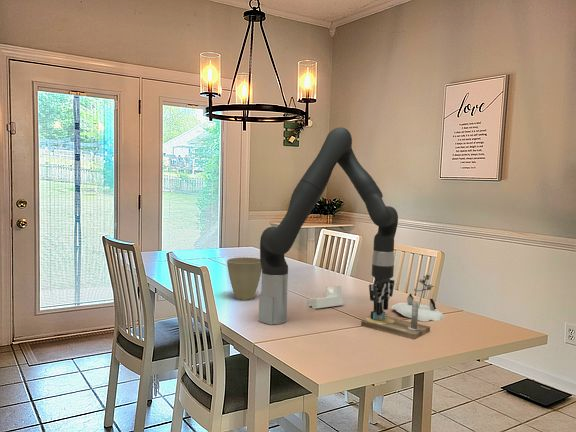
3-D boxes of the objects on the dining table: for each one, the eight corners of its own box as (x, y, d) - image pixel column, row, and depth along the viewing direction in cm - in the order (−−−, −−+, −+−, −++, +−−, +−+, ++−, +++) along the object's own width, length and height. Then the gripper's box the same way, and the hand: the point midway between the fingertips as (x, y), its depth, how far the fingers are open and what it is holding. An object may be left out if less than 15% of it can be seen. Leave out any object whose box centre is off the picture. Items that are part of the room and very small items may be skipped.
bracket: (333, 305, 206) (331, 286, 207) (343, 304, 200) (341, 285, 201) (307, 308, 199) (305, 289, 200) (317, 308, 193) (315, 288, 194)
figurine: (381, 309, 194) (387, 269, 191) (408, 303, 206) (414, 265, 203) (425, 327, 179) (432, 283, 177) (452, 319, 191) (459, 278, 189)
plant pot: (243, 292, 219) (244, 255, 217) (269, 298, 209) (270, 260, 208) (218, 297, 207) (219, 259, 206) (244, 304, 198) (245, 264, 196)
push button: (383, 316, 182) (384, 288, 181) (391, 320, 177) (393, 292, 176) (367, 317, 179) (368, 290, 178) (375, 321, 174) (377, 293, 173)
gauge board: (413, 339, 162) (415, 307, 161) (358, 325, 176) (359, 295, 175) (429, 331, 171) (431, 301, 170) (376, 318, 185) (377, 290, 184)
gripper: (382, 267, 167) (379, 317, 169) (402, 262, 178) (400, 309, 180) (362, 264, 172) (360, 312, 174) (383, 259, 183) (381, 305, 185)
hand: (380, 310), depth 177 cm, fingers open, 5 cm apart
